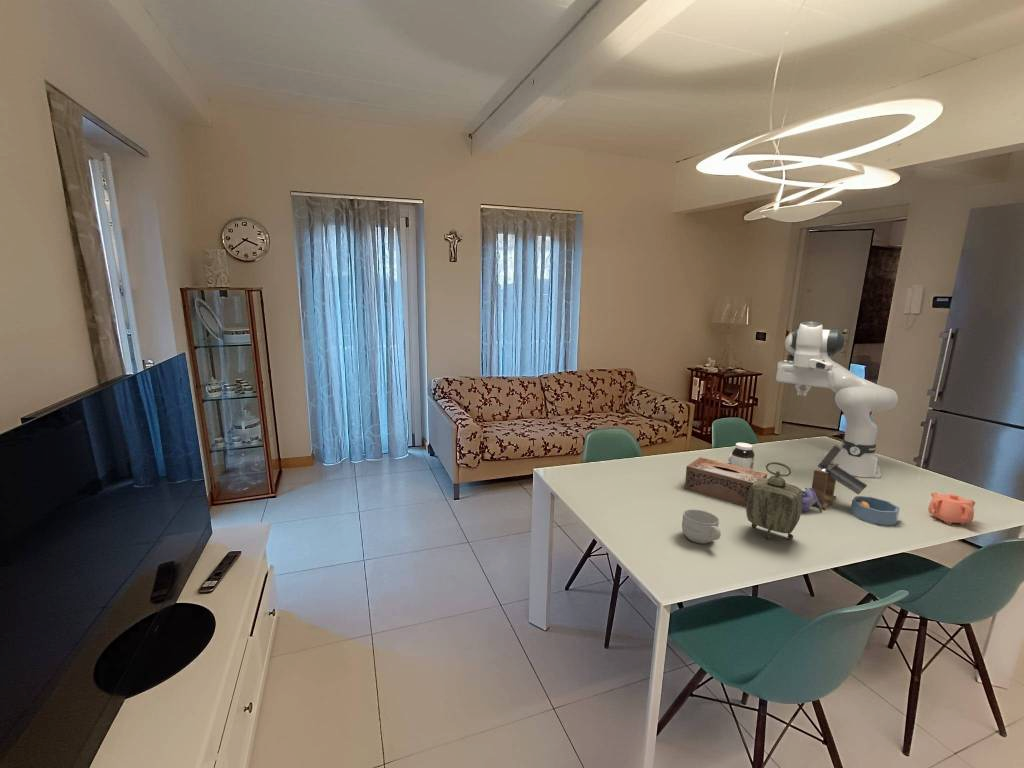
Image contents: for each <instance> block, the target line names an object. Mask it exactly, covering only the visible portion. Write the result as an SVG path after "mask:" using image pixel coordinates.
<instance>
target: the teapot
mask: <svg viewBox="0 0 1024 768" xmlns="http://www.w3.org/2000/svg"><path fill="white" fill-rule="evenodd" d="M930 495H931V497H932V499H931V500H930V502H929V505H928V508H927V509H928V513H929V514H931V515H932V518H935V519H938V518H939V520H942V521H944V524H945V523H946V525H948V524H953V523H955V524H958V523H960V524H959V525H961V524H962V525H961V526H966V525H965V524H969V523H972V521H973V520H974V517H975V509H974V508H975V507H974V506H975V505H976V501H974V500H972V499H966V498H964V497H961V496H959V495H958V494H955V493H949V494H948V493H946V494H944V493H941V494H939V493H938V492H931V493H930Z"/></svg>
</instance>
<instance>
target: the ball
mask: <svg viewBox="0 0 1024 768" xmlns="http://www.w3.org/2000/svg"><path fill="white" fill-rule="evenodd" d="M858 503H860V504H861V505H863V506H865V507H869V508H870V506H869V504H868V503H866V502H864V501H860V502H858Z"/></svg>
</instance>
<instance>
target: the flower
mask: <svg viewBox="0 0 1024 768" xmlns="http://www.w3.org/2000/svg"><path fill="white" fill-rule="evenodd" d="M801 491H802V495H803V505H802V512H805V511H808V510H809V509H810V508H811V507H812V505H814V504H815V505H817V506H818V508H817V509H818V510H819V511H818V512H820V513H822V512H823V510H822V507H821V505H820V503H819V500H818V498H817V496H816V494H815V492H814V490H813V489H812V487H808V488H806V487H804V490H801Z"/></svg>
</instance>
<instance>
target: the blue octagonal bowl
mask: <svg viewBox="0 0 1024 768" xmlns="http://www.w3.org/2000/svg"><path fill="white" fill-rule="evenodd" d="M860 501H864V502H866V503H868V504H869V506H870V508H869V507H865V506H863V505H861V504H860V503H858V502H860ZM850 505H851V506H850V513H851V514H852V515H853V516H854V517H855V518H857V519H859V520H861V521H862V522H863V521H864V522H866V523H869V524H871V525H879V526H885V527H892V526H895V525H897V522H898V520H899V514H900V509H901V508H900V507H899V506H897V505H896V504H894V503H892V502H890V501H888V500H885V499H881V498H877V497H874V496H865V495H864V496H862V495H861V496H860V495H856V496H855V497H853V499H851V504H850Z"/></svg>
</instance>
